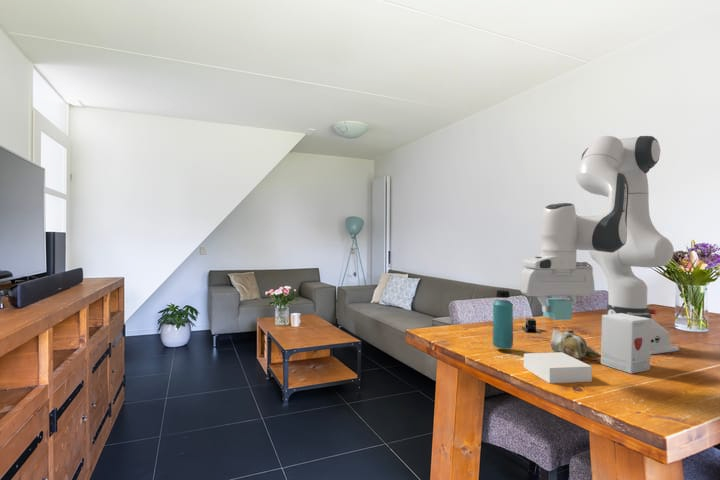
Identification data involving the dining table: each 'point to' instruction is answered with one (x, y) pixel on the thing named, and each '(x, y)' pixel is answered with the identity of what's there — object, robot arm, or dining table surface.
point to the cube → (559, 309)
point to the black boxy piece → (531, 326)
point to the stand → (557, 367)
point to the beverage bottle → (502, 321)
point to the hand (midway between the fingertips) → (556, 311)
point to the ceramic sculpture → (571, 345)
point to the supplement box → (626, 342)
